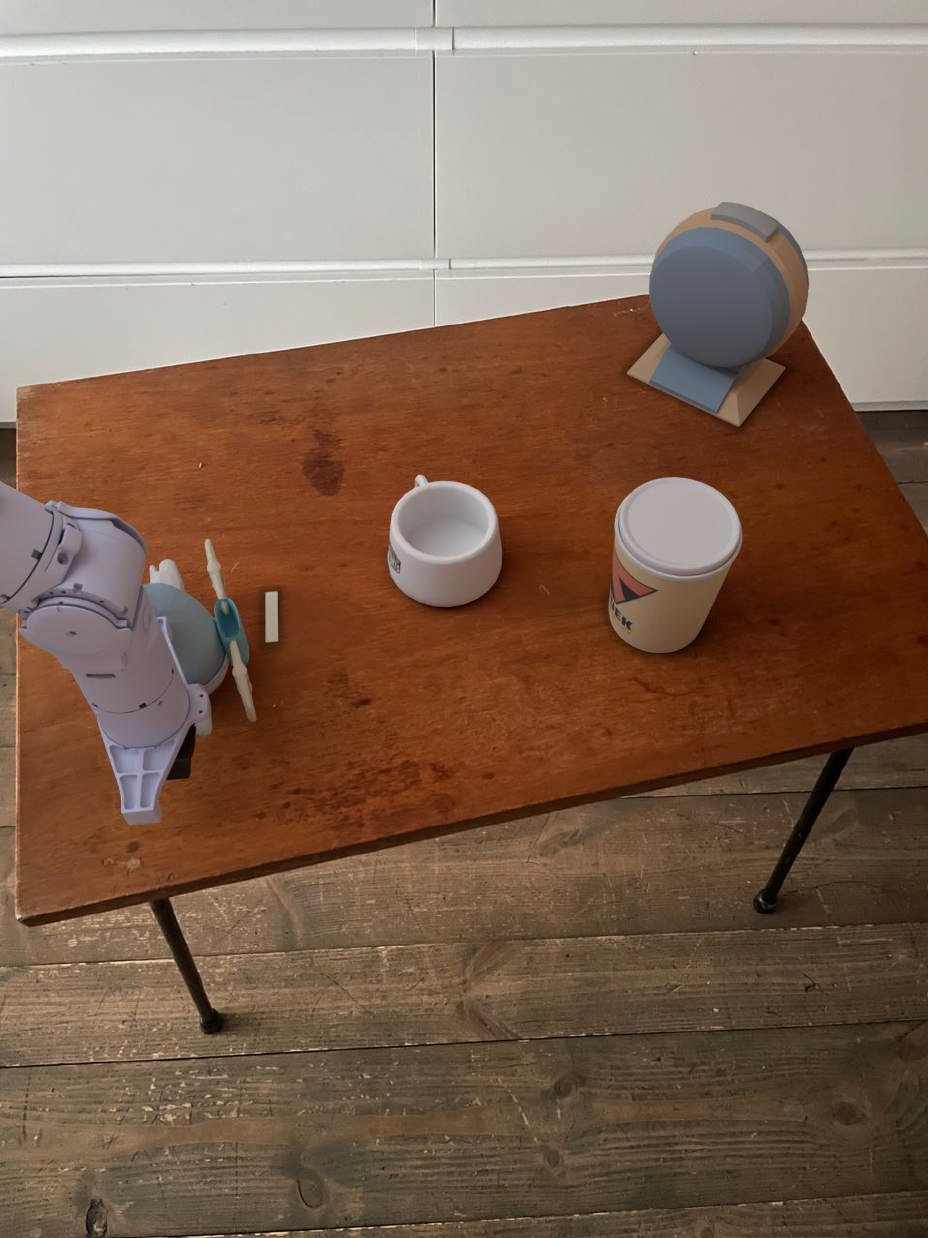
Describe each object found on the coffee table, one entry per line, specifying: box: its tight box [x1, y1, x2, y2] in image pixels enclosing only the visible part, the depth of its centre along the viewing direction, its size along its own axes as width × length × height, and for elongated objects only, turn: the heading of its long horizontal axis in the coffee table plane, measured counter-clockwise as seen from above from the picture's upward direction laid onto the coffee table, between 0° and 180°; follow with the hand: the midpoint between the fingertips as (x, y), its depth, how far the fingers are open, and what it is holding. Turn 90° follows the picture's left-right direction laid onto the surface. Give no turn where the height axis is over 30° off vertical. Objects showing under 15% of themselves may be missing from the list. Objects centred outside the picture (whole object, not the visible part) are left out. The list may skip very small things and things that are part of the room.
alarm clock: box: [626, 201, 810, 428], centre depth 97 cm, size 14×10×18 cm
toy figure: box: [142, 538, 257, 738], centre depth 77 cm, size 17×10×15 cm, turn 18°
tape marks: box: [265, 591, 279, 644], centre depth 87 cm, size 14×5×1 cm, turn 96°
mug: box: [387, 474, 503, 608], centre depth 88 cm, size 12×10×6 cm
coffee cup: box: [608, 476, 743, 654], centre depth 82 cm, size 9×9×12 cm
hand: (175, 772), depth 76 cm, fingers closed
